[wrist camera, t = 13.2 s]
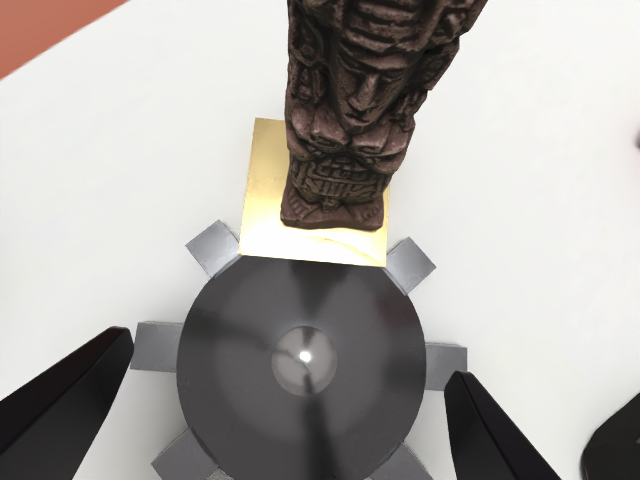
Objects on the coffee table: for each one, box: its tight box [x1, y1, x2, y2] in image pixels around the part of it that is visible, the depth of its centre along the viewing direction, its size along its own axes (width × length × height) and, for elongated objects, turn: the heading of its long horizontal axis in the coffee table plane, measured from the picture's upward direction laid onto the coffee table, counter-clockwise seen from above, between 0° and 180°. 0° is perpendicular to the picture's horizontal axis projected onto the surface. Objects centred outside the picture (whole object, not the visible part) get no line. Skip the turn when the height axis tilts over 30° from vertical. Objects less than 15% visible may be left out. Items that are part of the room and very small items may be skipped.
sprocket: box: [130, 118, 467, 480], centre depth 21 cm, size 27×21×2 cm
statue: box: [280, 0, 488, 231], centre depth 13 cm, size 7×7×20 cm
